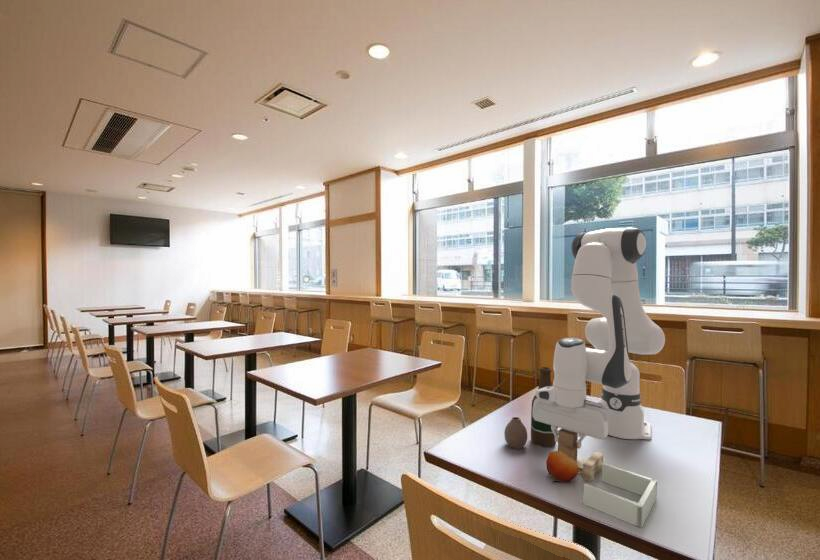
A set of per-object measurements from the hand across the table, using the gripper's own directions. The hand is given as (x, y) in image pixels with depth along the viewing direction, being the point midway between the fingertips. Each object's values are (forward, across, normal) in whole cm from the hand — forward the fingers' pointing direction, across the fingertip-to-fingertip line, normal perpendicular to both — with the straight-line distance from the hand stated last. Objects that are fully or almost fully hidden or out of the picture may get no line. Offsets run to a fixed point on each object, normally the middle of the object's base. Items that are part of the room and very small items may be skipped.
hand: (567, 444), depth 109 cm
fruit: (+6, -2, +9) cm, 11 cm away
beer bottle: (+6, +11, -9) cm, 15 cm away
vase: (+6, +16, 0) cm, 17 cm away
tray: (+6, -16, +9) cm, 19 cm away
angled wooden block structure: (+6, -3, 0) cm, 6 cm away
